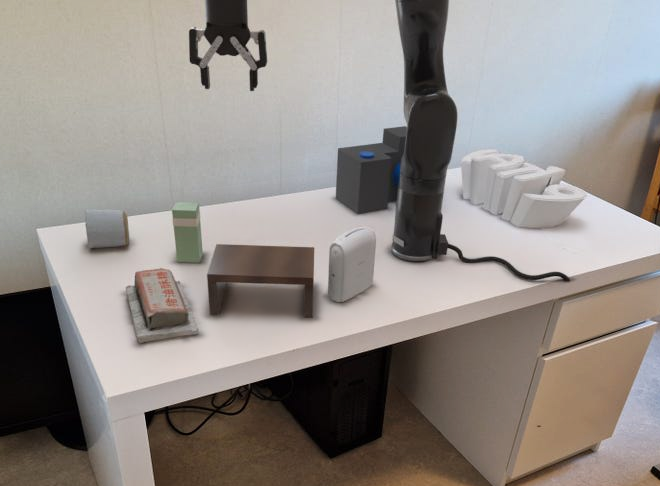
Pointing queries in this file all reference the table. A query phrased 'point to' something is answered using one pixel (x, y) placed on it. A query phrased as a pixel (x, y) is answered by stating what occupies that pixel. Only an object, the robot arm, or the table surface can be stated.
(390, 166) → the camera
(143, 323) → the packaged product
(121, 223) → the ceramic mug
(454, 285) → the table surface
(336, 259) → the photo printer
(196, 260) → the box
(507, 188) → the white letter sculpture
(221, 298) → the shelf stand
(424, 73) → the robot arm
